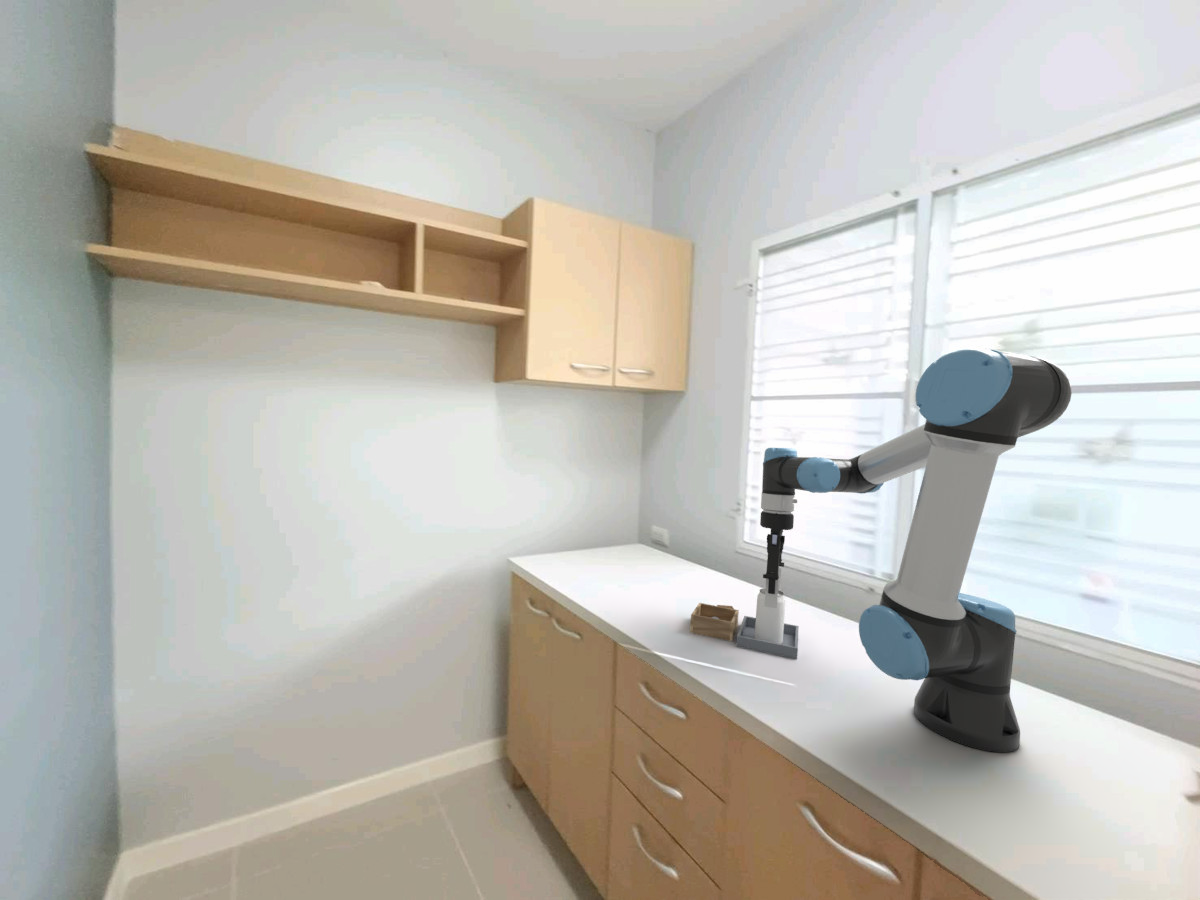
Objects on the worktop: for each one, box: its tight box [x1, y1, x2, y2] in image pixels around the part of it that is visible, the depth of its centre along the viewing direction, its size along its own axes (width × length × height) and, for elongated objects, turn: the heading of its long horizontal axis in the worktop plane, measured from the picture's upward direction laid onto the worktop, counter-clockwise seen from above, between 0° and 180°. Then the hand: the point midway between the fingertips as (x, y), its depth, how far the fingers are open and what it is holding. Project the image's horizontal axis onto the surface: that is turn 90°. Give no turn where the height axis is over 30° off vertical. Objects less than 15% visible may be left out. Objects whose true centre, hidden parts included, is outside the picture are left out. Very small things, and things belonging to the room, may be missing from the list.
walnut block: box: [716, 604, 735, 609], centre depth 131 cm, size 4×4×4 cm
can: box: [755, 587, 786, 644], centre depth 119 cm, size 6×6×12 cm
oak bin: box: [689, 602, 740, 642], centre depth 124 cm, size 10×10×5 cm
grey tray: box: [735, 615, 799, 660], centre depth 119 cm, size 15×13×3 cm
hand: (772, 599), depth 118 cm, fingers open, 13 cm apart
